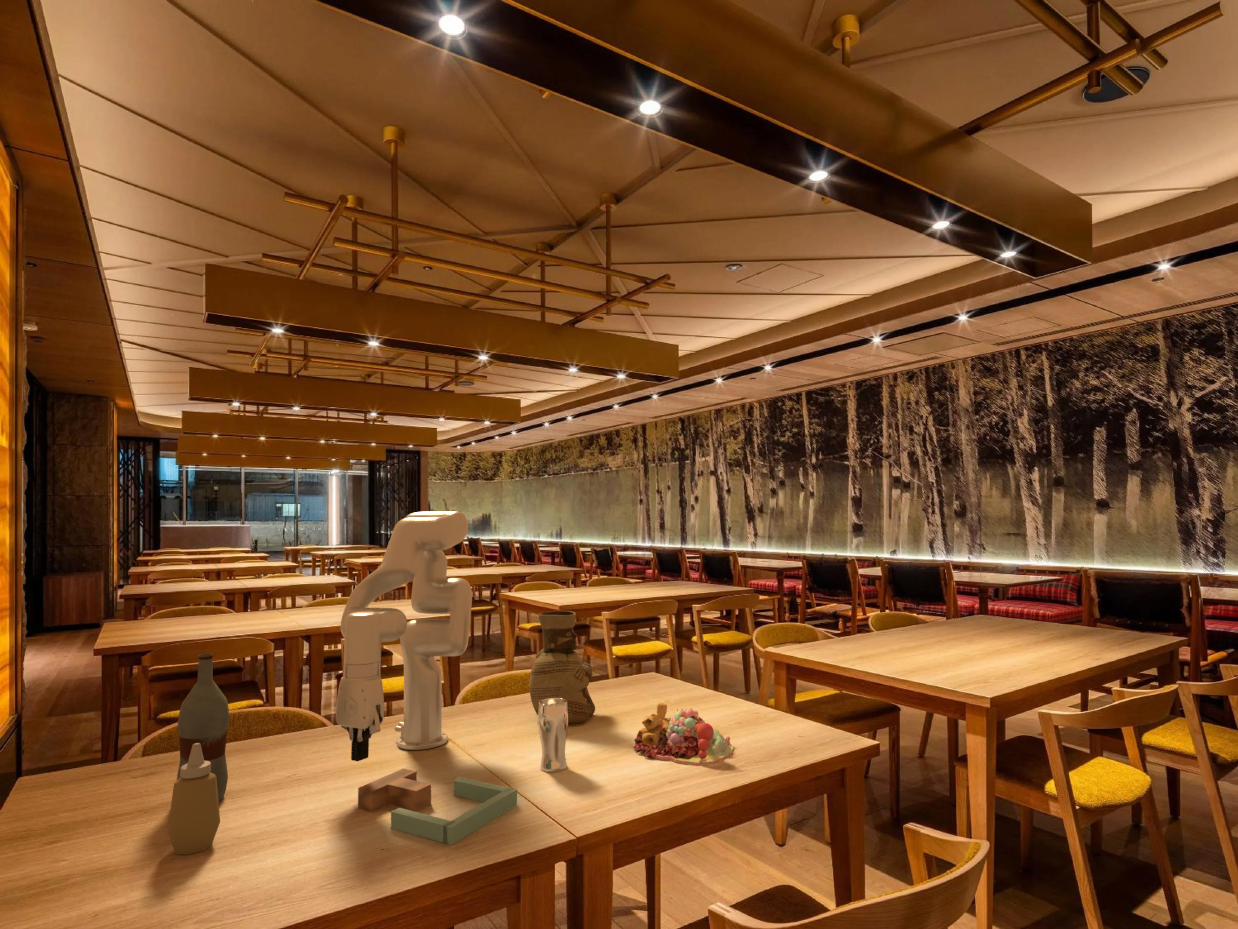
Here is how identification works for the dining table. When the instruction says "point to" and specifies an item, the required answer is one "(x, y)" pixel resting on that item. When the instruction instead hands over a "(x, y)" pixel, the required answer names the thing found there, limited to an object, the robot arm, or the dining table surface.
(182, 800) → the squeeze bottle
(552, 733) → the beer glass
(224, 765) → the vodka
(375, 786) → the t block
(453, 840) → the frame
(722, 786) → the dining table surface
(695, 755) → the pastel sphere sculpture
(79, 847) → the dining table surface
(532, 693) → the ceramic vessel
